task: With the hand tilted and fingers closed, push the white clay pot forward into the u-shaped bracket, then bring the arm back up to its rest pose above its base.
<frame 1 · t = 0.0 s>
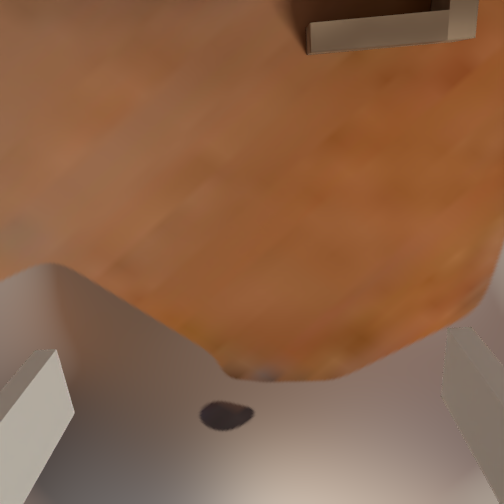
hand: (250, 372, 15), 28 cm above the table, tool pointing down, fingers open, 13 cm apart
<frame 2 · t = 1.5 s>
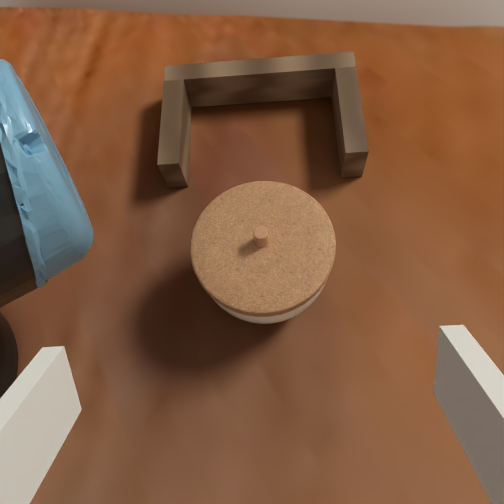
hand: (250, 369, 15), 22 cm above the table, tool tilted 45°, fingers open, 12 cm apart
lidded jar: (267, 279, 40), on the table
u-shaped bracket: (261, 124, 46), on the table
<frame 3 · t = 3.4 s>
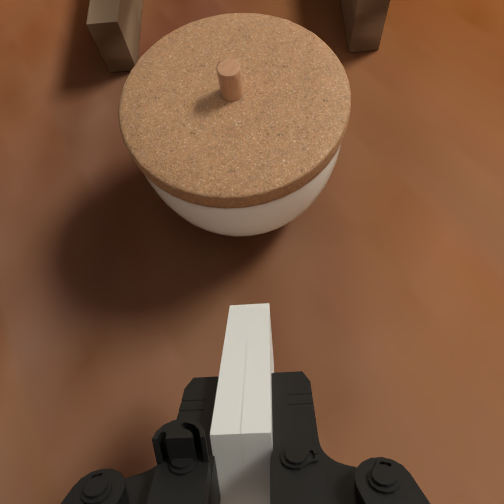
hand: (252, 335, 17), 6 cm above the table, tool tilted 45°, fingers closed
lidded jar: (246, 185, 27), on the table
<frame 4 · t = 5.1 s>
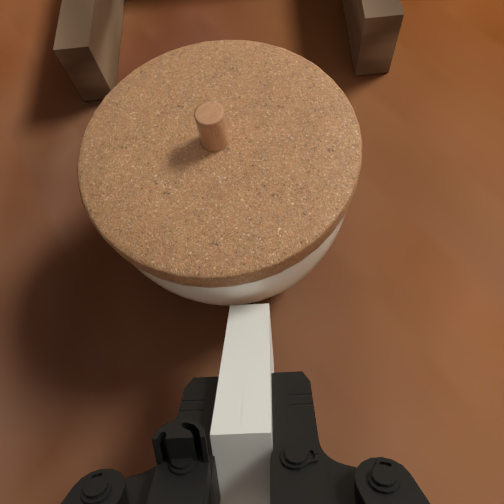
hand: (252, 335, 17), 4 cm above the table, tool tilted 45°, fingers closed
lidded jar: (239, 234, 24), on the table, touching gripper
u-shaped bracket: (230, 8, 30), on the table
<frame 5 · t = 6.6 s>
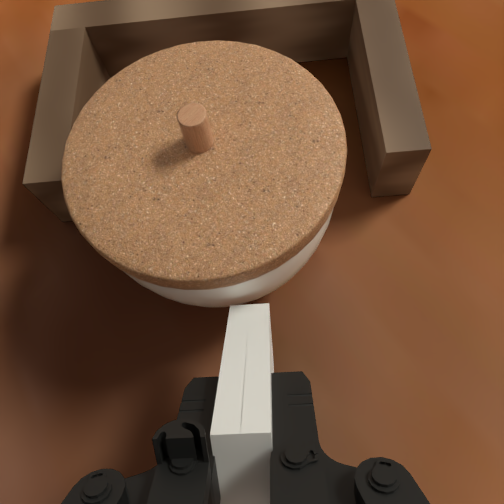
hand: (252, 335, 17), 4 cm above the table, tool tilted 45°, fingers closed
lidded jar: (228, 235, 24), on the table, touching gripper
u-shaped bracket: (228, 106, 27), on the table
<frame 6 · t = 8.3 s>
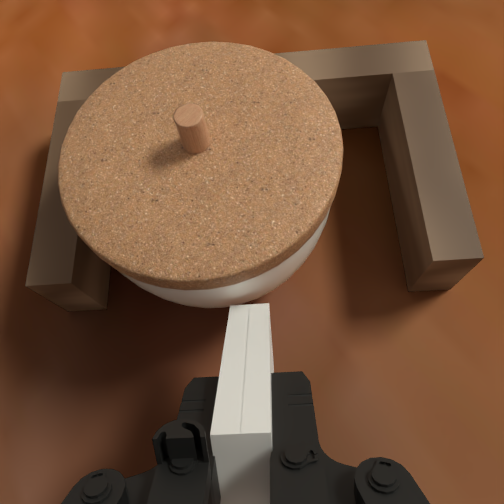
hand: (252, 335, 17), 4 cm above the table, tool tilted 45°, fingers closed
lidded jar: (225, 236, 24), on the table, touching gripper
u-shaped bracket: (249, 180, 25), on the table
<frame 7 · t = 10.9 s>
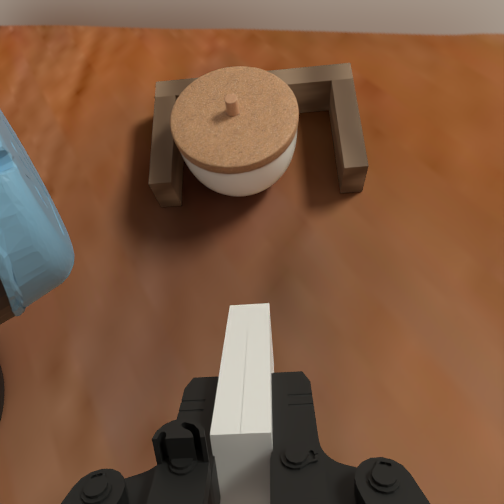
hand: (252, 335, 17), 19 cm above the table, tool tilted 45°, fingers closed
lidded jar: (243, 169, 44), on the table
u-shaped bracket: (257, 140, 45), on the table
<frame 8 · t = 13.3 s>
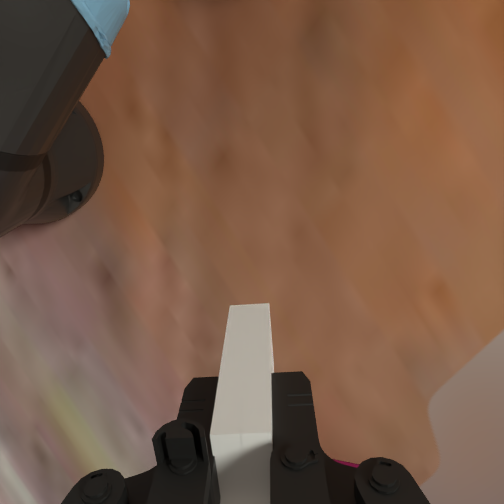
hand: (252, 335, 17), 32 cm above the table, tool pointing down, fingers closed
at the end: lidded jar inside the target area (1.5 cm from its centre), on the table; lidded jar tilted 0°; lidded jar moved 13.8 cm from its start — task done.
